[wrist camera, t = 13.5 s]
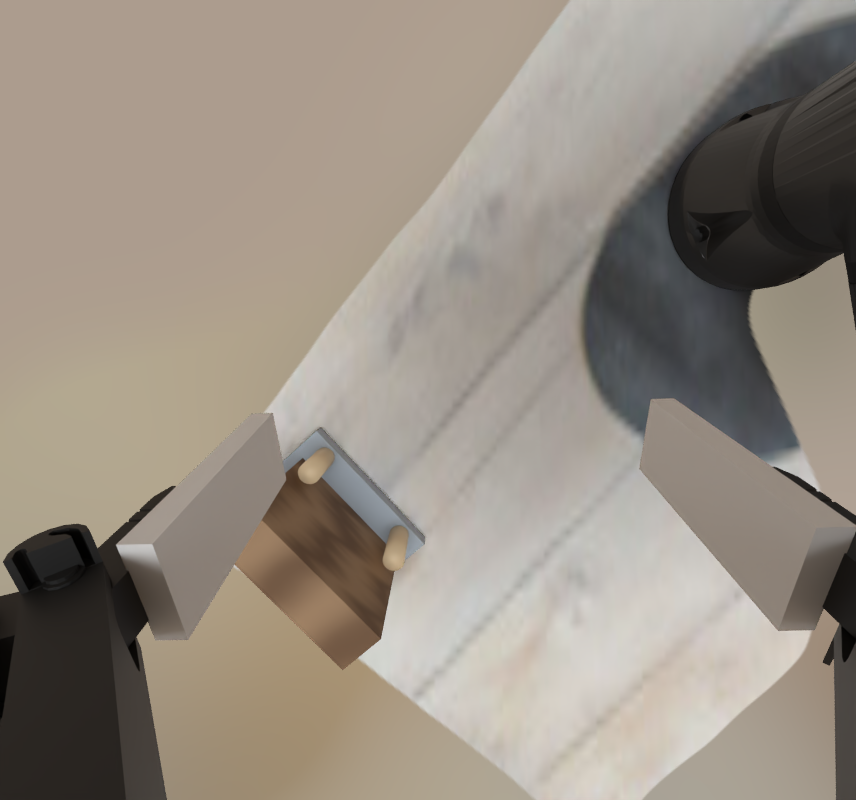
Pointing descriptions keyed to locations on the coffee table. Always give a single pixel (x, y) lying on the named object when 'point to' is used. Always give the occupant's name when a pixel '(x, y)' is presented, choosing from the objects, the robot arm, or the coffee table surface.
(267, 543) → the board
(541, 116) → the coffee table surface
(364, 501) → the cradle
